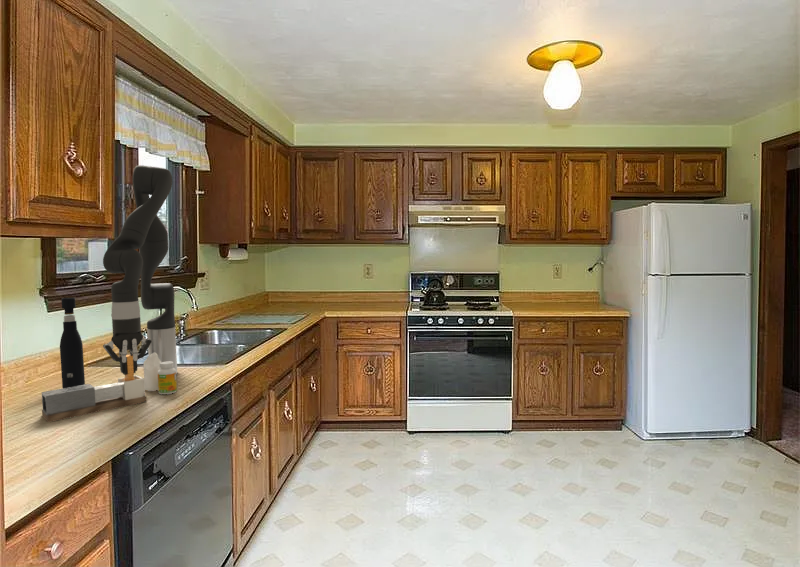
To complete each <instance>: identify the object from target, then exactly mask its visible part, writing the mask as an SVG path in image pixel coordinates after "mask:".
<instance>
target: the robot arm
mask: <svg viewBox="0 0 800 567" xmlns="http://www.w3.org/2000/svg"><path fill="white" fill-rule="evenodd" d="M172 185H173V174H172V173H171V171H170V169H168V168H164V167H158V166H153V165H152V166H151V165H142V164H138V165H136V166H135V167H134V168H133V172H132V187H133V194H134V196H133V197H134V200H135V201H134V202H135V206H136V207H135V210H133V211H132V212H131V213H130V214H129V215H128V216H127V217H126V218H125V221H124V223H123V225H122V228H121V230H120V233H119V235H118V236H117V237H116V238H115V239H114V241H113V242H112V243H111V244H110V246H108V248H107V250H106V251H105V252H104V255H103V258H102V266H103V267H104V269H105V271H107V272H108V273H111V274H124V277H123V279H122V280H120V281H116V282H113V283H112V284H111V289H110V291H111V324H112V325H111V326H112V337H111V340H110V341H109V342H107V343H104V344H102V348H103V349H104V350H105V352H107V354H108V355H109V356H110V357H111V359H112V360H113V361H115V362H116V363H117V362H119V365H120V373H121V374H122V375H124V376H125V375H127V374H128V373H127V362H126V355H128V351H129V354H130V355H132V356H133V369H134V374H136V372H137V371H138V360H140V359H143V358H144V357H145V355H146V352H147V351H148V356H149V355H151V354H152V353H154V352H155V353H157V355H158V358H159V360H160V361H161V362H165V361H172V362H173V368H174V369H176V375H177V374H178V356H177V355H178V353H177V339H176V335H177V334H176V322H175V320H176V319H175V288H174V286H173V284H172V283H170V282H168V283H167V282H165V283H164V282H162V283H160V282H159V283H152V279H153V276H154V274H155V272H156V270H157V269H158V267H159V266H160V265H161V263H162V262H163V260H164V259H165V257H166V256H167V254H168V251H169V234H168V229H167V228H166V226H165V224H164V223H163V221H162V219H160V217H159V216H158V213H159V211H160V210H161V209H162V207H163V205H164V204H165V201H167V198H168V196H169V195H170V193H171V190H172V187H173V186H172ZM139 284H140V302H139ZM140 303H141V306H142V308H143V309H144V310H148V311H149V310H150V311H151V310H162V309H163V310H164V311H163V312H162V313H161V314H160V315H158V316H156V317H153V318H151V319H148V320H147V322H146V329H147V331H146V332H147V333H146V334H147V338H146V337H144V335H143V333H142V326H141V325H142V324H141V308H140ZM140 344H141V346H140V348H139V349H138V347H139V345H140ZM114 346H115V347H116V348H117V349H118V355H119V356H118V355H117V354H116V352H115V351H114V349H115V347H114Z"/></svg>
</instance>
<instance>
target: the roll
mask: <svg viewBox="0 0 800 567" xmlns="http://www.w3.org/2000/svg"><path fill="white" fill-rule="evenodd" d="M160 363H161V361H160V360H159V358H158V355H157V353H155V352H154V353H152V354H151V355H149V354H148V356H147V358H146V359H145V360H144V362H143V378H144V382H145V390H148V391H147V392H156V390H157V391H158V371H159V370H160V369H161V368H160Z"/></svg>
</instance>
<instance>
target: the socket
mask: <svg viewBox="0 0 800 567" xmlns="http://www.w3.org/2000/svg"><path fill="white" fill-rule="evenodd" d="M123 381H125V376H124V377H120V378H119V377H118V378H117V383H118V382H123ZM144 396H146V391H145V382H144V377H142V376H140V375H137V374H134V380H130V381H125V382H124V396H123V397H121V398H123V399H124V400H129V399H134V398H139V397H144Z"/></svg>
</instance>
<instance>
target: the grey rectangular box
mask: <svg viewBox="0 0 800 567" xmlns="http://www.w3.org/2000/svg"><path fill="white" fill-rule="evenodd" d="M94 387H95V386H94V385H92V384H90V383H85V385H80V386H74V387H68V388H57V389H52V390H51V389H50V390H46V391H41V403H42V410H43V412H44V413H45V414H46V415H47V416H48V415H53V414H58V413H63V412H68V411H73V410H78V409H83V408H88V407H93V406H96V404H95V388H94Z"/></svg>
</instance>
